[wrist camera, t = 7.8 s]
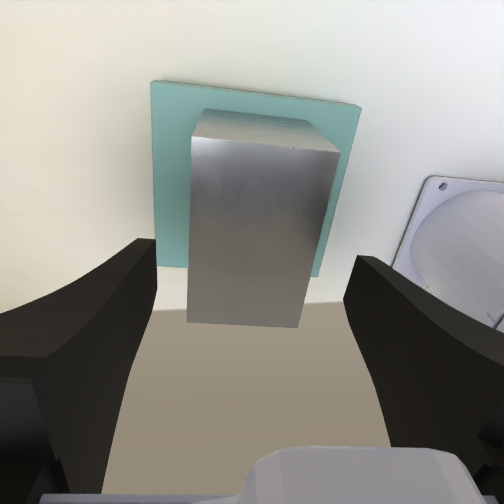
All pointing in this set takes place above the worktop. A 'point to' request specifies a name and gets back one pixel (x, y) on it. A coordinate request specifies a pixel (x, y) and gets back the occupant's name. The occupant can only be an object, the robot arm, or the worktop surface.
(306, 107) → the stand
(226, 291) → the block
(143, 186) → the worktop surface
